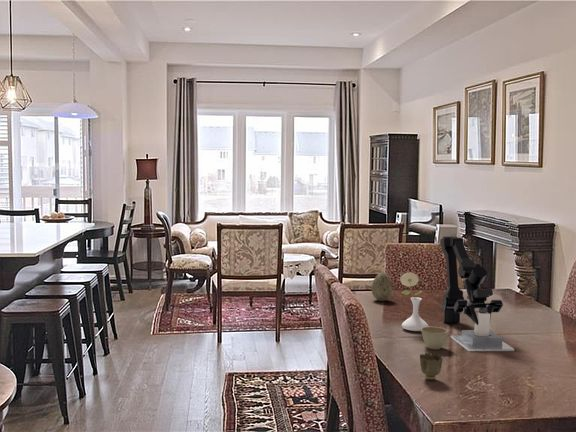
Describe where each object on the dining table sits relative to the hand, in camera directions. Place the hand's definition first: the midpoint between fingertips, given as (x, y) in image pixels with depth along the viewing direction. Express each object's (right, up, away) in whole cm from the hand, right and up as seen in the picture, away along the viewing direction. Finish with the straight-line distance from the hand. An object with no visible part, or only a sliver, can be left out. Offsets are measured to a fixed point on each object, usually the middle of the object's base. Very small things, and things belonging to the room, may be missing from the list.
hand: (483, 324), depth 251 cm
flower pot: (-21, -8, -5) cm, 23 cm away
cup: (-30, -11, -42) cm, 53 cm away
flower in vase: (-24, -6, +22) cm, 33 cm away
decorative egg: (-29, -2, +79) cm, 84 cm away
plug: (0, -6, +2) cm, 7 cm away
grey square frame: (0, -8, +2) cm, 8 cm away
